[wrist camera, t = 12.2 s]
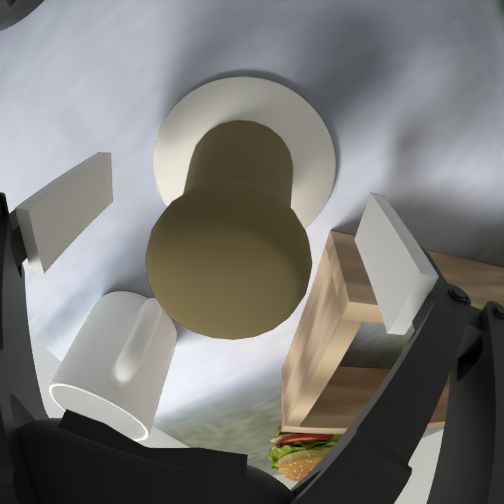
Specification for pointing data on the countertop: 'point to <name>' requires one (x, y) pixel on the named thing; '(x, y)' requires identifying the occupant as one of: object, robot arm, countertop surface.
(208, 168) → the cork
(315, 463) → the food
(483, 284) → the access box
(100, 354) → the mug
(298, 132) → the coaster
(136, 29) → the countertop surface
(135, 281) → the countertop surface
